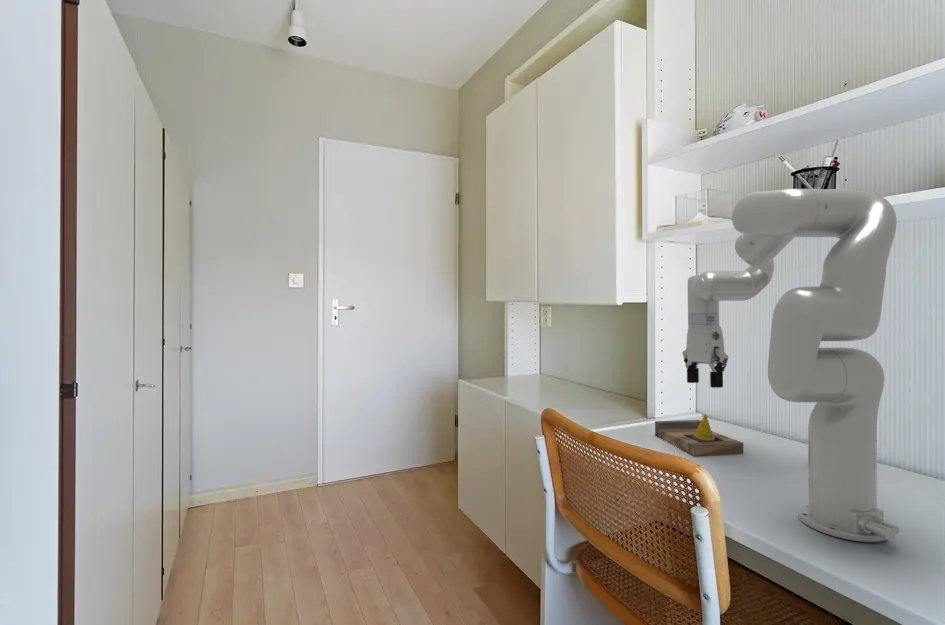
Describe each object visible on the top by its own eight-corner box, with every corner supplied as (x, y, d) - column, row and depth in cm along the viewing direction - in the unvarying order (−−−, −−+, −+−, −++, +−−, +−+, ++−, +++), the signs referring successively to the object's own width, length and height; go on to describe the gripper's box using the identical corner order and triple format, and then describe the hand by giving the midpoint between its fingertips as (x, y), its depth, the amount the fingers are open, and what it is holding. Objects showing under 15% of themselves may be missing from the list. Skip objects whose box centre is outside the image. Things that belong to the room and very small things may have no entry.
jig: (743, 454, 119) (743, 435, 119) (693, 457, 117) (693, 437, 117) (698, 436, 137) (698, 419, 137) (655, 438, 135) (655, 421, 135)
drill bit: (708, 444, 127) (711, 410, 125) (717, 453, 122) (720, 418, 119) (688, 443, 127) (691, 409, 125) (696, 453, 122) (699, 418, 120)
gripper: (739, 320, 116) (740, 389, 116) (695, 321, 133) (696, 380, 133) (712, 320, 115) (713, 389, 115) (671, 321, 132) (672, 381, 132)
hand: (704, 384), depth 124 cm, fingers open, 9 cm apart
